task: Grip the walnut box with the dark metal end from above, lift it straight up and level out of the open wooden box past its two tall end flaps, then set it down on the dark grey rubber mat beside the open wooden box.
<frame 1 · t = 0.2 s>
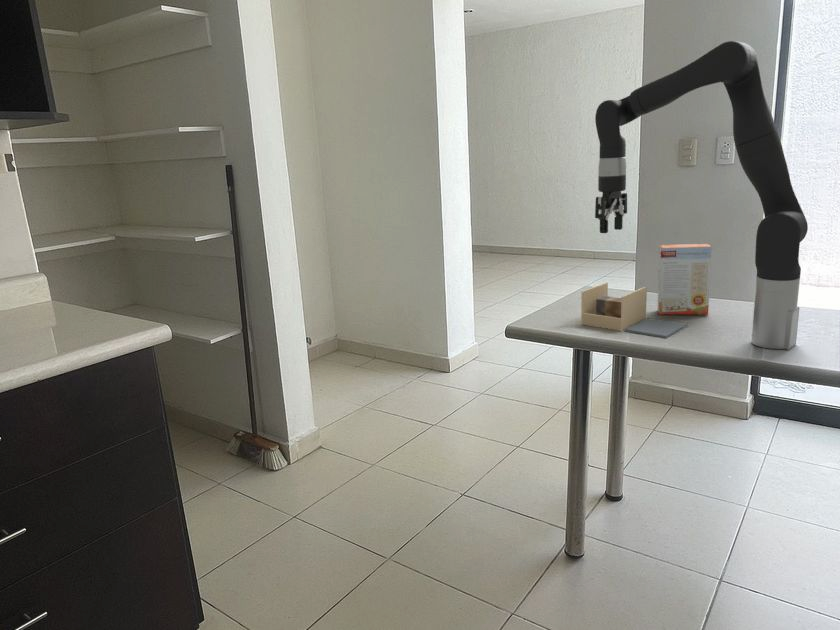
hand: (611, 231, 176), 27 cm above the table, tool pointing down, fingers open, 8 cm apart
open wooden box: (613, 321, 180), on the table
rubber mat: (656, 328, 171), on the table
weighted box: (613, 322, 180), resting in open wooden box
cracker box: (681, 313, 185), on the table
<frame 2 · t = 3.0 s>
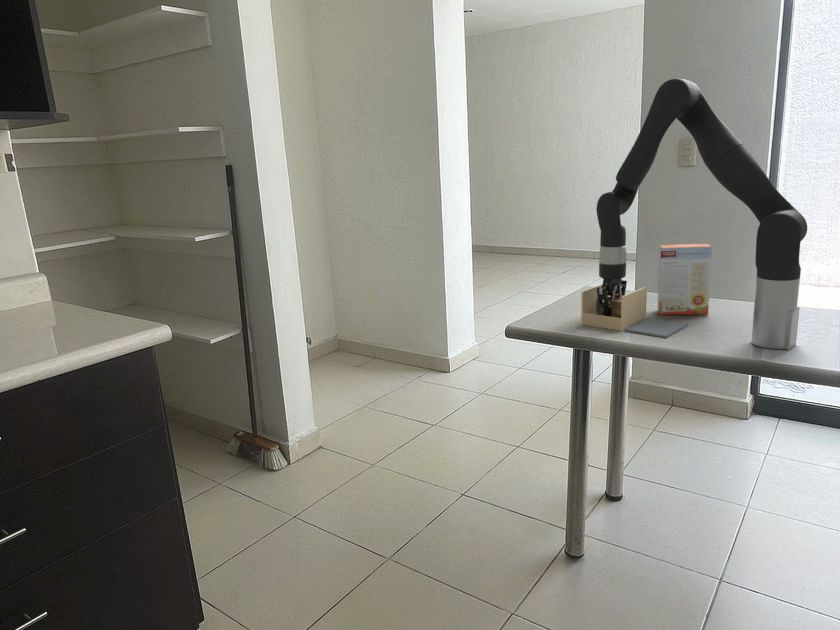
hand: (611, 317, 180), 1 cm above the table, tool pointing down, fingers closed on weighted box, 4 cm apart
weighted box: (613, 321, 180), resting in open wooden box, touching gripper
everything else where it was.
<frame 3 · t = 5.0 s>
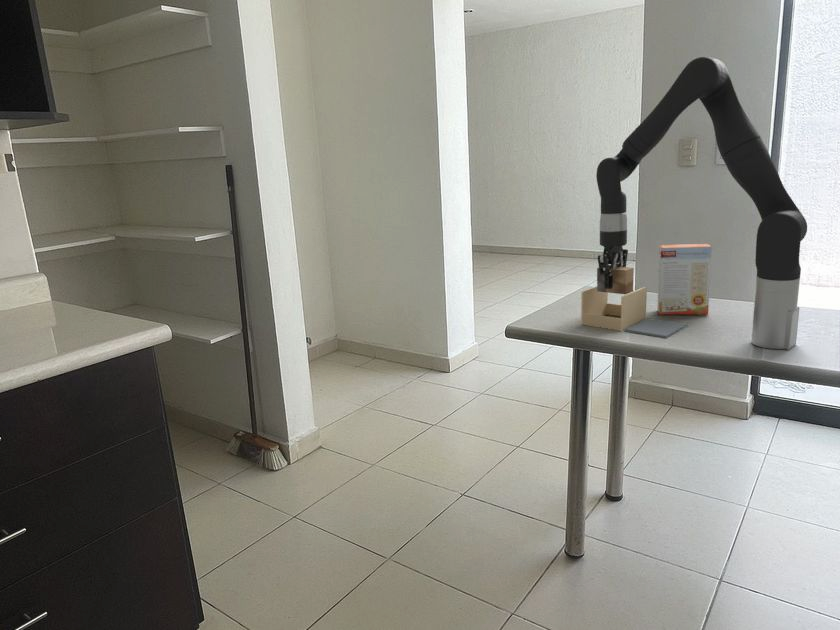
hand: (612, 286, 178), 11 cm above the table, tool pointing down, fingers closed on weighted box, 4 cm apart
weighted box: (614, 291, 178), point 9 cm above the table, touching gripper
everything else where it was.
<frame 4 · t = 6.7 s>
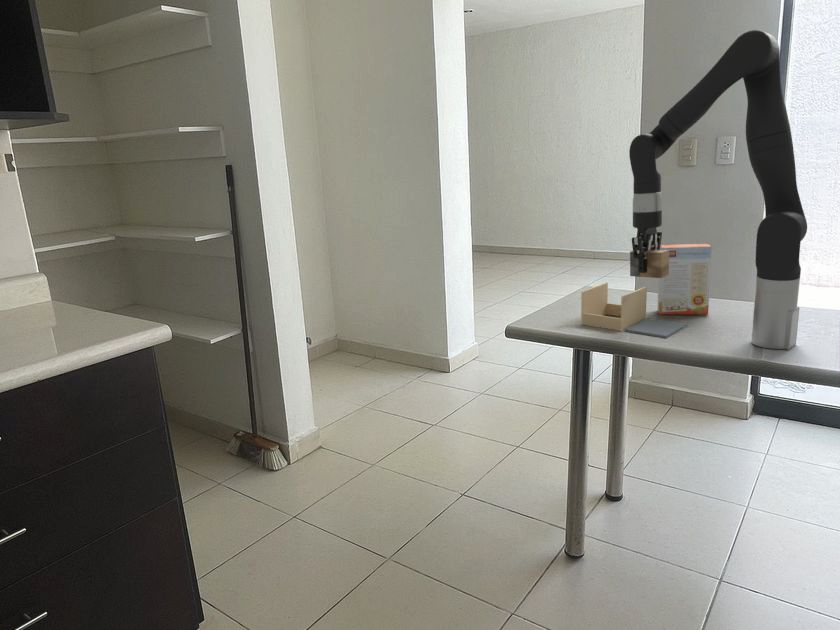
hand: (647, 270, 169), 16 cm above the table, tool pointing down, fingers closed on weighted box, 4 cm apart
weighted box: (649, 275, 169), point 15 cm above the table, touching gripper
everything else where it was.
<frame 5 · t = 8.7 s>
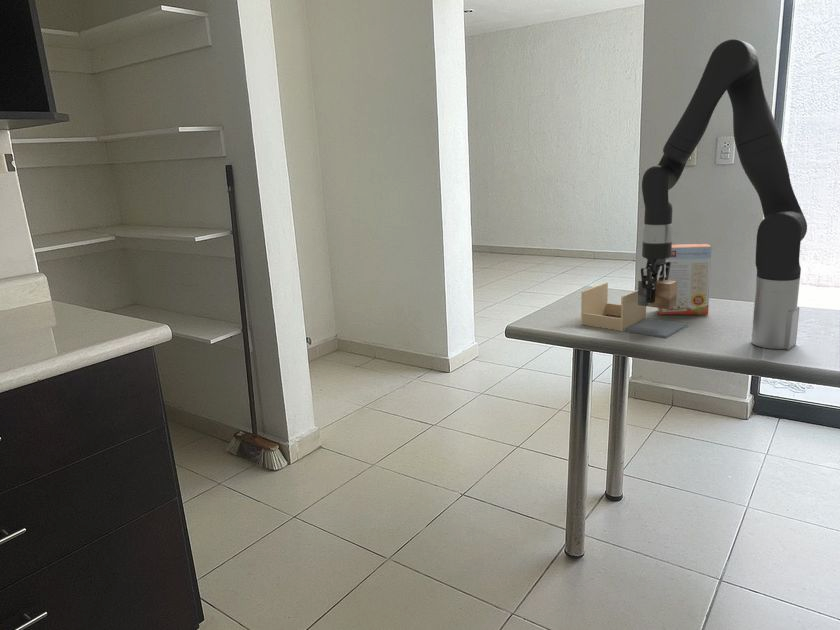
hand: (654, 300, 170), 8 cm above the table, tool pointing down, fingers closed on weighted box, 4 cm apart
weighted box: (656, 305, 170), point 7 cm above the table, touching gripper
everything else where it was.
when the fingers open (3 cm above the table, at t = 10.4 s): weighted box drops 1 cm, resting on rubber mat.
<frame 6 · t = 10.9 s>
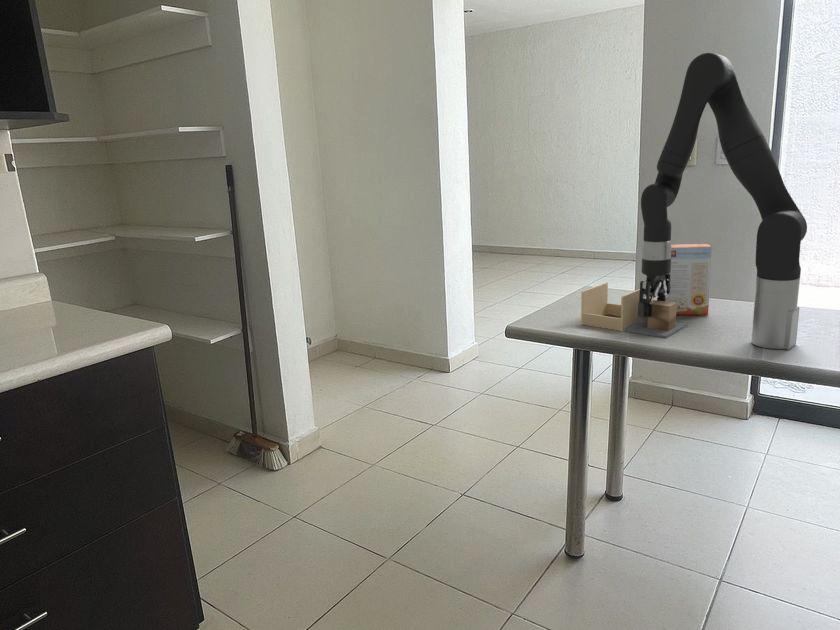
hand: (654, 313, 171), 4 cm above the table, tool pointing down, fingers open, 8 cm apart
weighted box: (656, 326, 171), point 1 cm above the table, touching rubber mat
everything else where it was.
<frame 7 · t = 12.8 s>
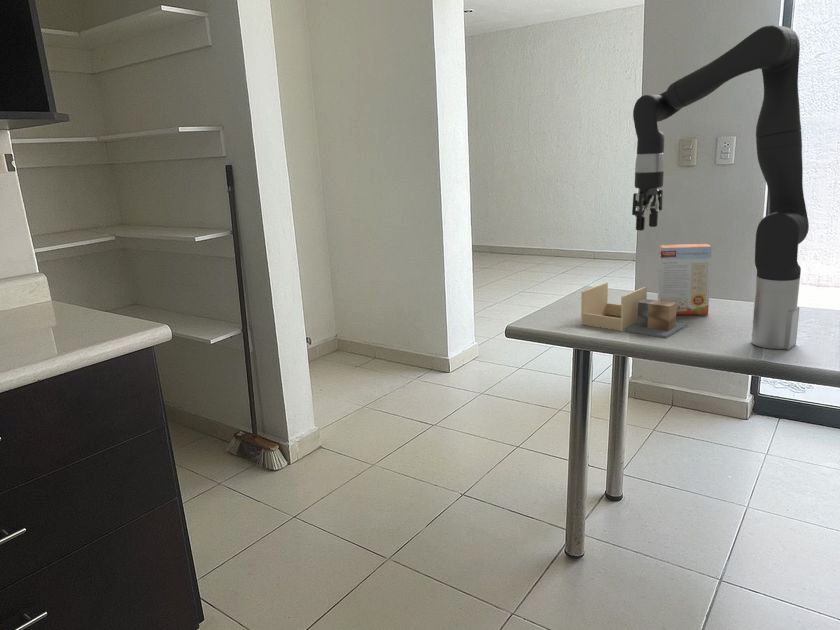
hand: (646, 228, 173), 27 cm above the table, tool pointing down, fingers open, 8 cm apart
nothing on the table moved.
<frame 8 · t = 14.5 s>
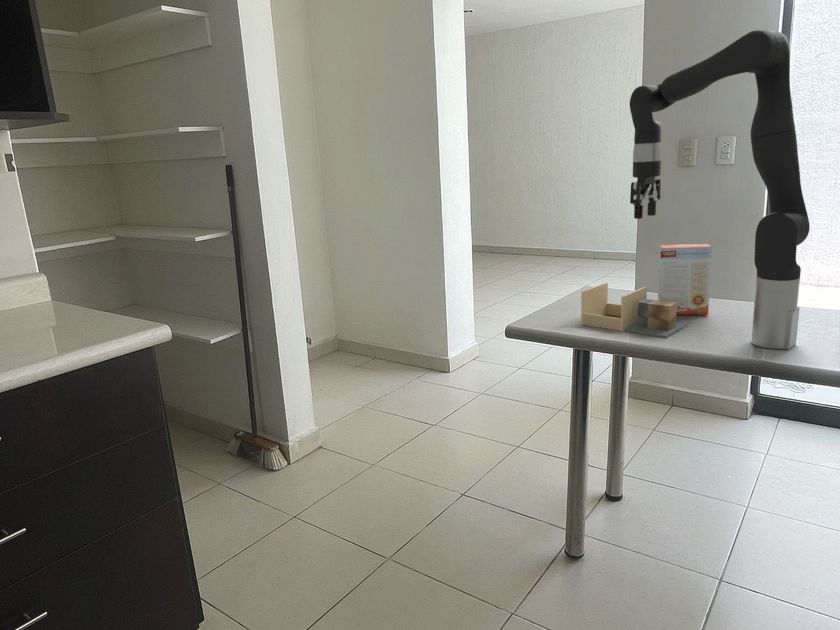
hand: (645, 217, 177), 30 cm above the table, tool pointing down, fingers open, 8 cm apart
nothing on the table moved.
at the end: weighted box inside the target area on the rubber mat (0.1 cm from its centre), point 0.6 cm above the rubber mat's base; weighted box tilted 0°; the gripper is holding nothing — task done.
